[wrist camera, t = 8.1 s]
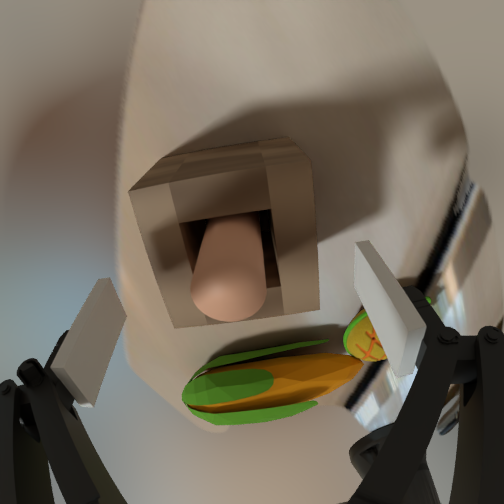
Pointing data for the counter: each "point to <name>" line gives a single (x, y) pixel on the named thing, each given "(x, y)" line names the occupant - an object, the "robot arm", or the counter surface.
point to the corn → (266, 385)
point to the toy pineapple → (364, 338)
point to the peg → (230, 268)
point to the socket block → (227, 203)
